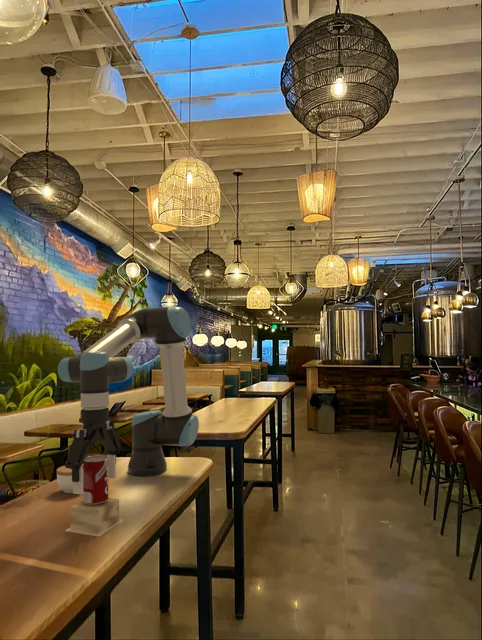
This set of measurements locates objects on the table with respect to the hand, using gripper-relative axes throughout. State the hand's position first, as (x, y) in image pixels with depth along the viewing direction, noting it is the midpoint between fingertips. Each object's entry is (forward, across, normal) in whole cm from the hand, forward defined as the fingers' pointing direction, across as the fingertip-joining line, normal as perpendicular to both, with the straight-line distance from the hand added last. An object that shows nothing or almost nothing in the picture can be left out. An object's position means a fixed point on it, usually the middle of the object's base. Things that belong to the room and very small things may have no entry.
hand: (95, 485), depth 121 cm
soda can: (+5, 0, 0) cm, 5 cm away
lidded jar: (+12, -24, -29) cm, 39 cm away
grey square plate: (+12, -1, -2) cm, 12 cm away
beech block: (+11, 0, 0) cm, 11 cm away
